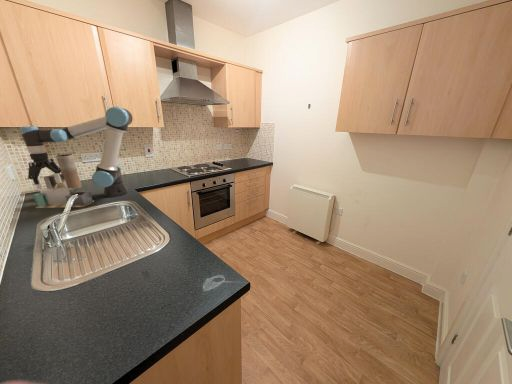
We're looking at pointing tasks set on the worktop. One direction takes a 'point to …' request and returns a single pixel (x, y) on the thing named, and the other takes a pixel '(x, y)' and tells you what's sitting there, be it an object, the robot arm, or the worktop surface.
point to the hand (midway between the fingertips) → (50, 185)
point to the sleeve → (81, 198)
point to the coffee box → (54, 182)
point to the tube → (57, 195)
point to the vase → (69, 170)
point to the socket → (39, 200)
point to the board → (61, 206)
